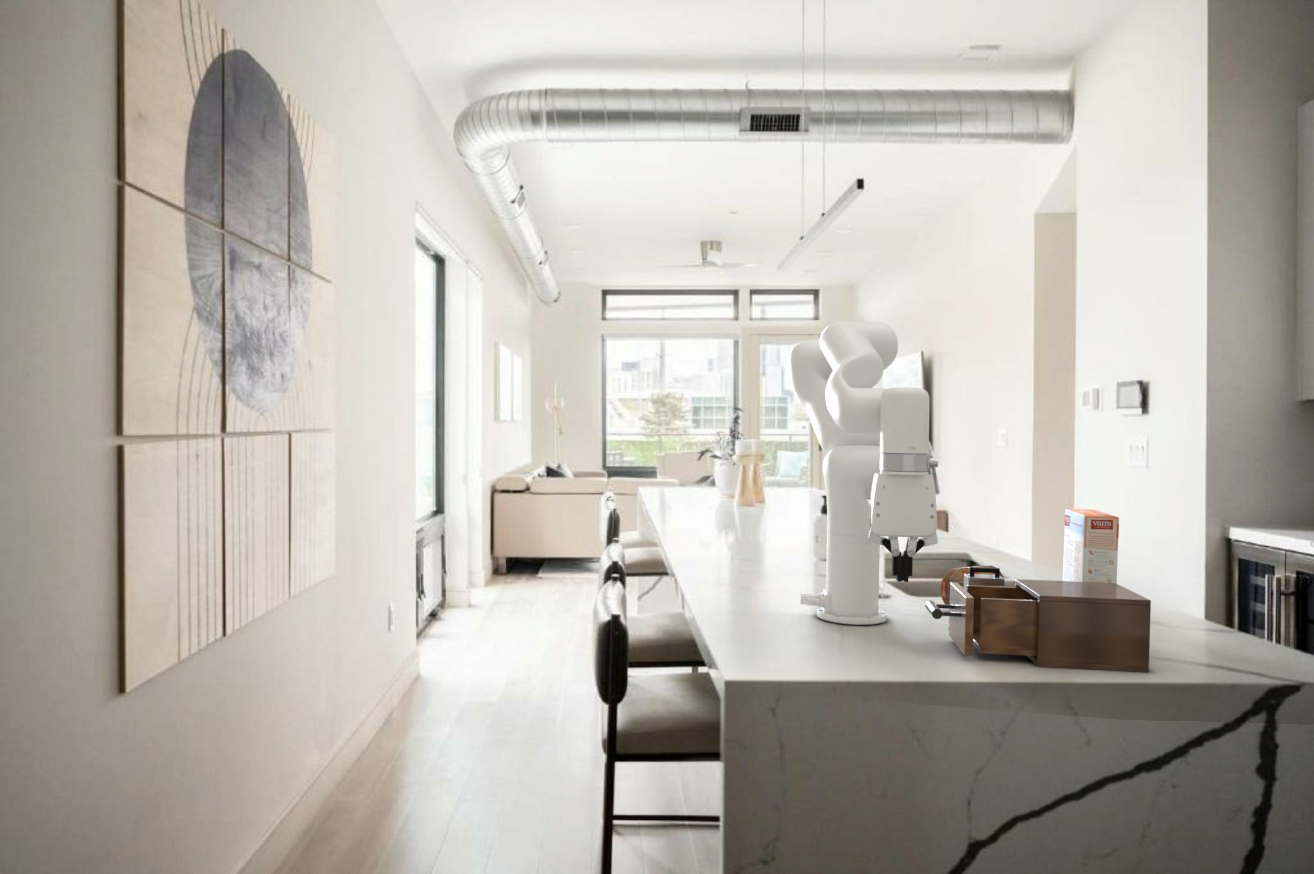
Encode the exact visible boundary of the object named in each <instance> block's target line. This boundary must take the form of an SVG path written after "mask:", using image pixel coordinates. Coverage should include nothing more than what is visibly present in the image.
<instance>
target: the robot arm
mask: <svg viewBox="0 0 1314 874" xmlns="http://www.w3.org/2000/svg"><path fill="white" fill-rule="evenodd" d="M898 350H899V340H898V336H897V333H896V331H895V330H894V329H893V327H891V325H889V324H888V323H884V322H881V321H860V320H859V321H857V320H840V321H836V322H832V323H830V324H829V325H827V326H826V327H825V328H824V329H823V331H822V332H821V333H820V337H819V338H811V339H806V340H802V341H798V343H796V344H795V345H793V347H792V348H791V349H790V351H789V354H788V358H787V373H788V378H789V382H790V386H791V388H792V390H793V392H794V395H795V397H796V398H797V400H798V401H799V402H800V404H801V406H802V407H803V408H804V409H805V411H806V413H807V415H808V416H809V419H810V422H811V425H812V428H813V430H814V432H815V436H816V438H817V440H818V443H819V445H820V447H821V450H822V451H823V452H824V453H825V454H826V456H825V457H824V460H823V464H822V474H823V475H822V476H823V481H824V488H825V496H826V513H827V514H826V517H827V518H826V562H825V563H826V564H825V565H826V567H825V569H826V570H825V588H824V589H823V590H822V592H817V594H811V593H800V605H807V606H809V607H810V606H811V607H815V606H816V607H818V608H817V609H816V616H817V617H818V618H819V619H820V620H823V621H826V622H831V623H836V624H843V625H855V626H856V625H857V626H859V625H860V626H866V625H868V626H869V625H877V624H878V625H879V624H882V623H885V622H886V621H887V620H888V613H887V612H886V611H884V610H882V609H879V601H880V600H879V598H880V597H879V595H880V557H881V556H880V554H881V546H883V547H884V548H885V549H886V550H887V551H888V552H889V553H890V554H891V576H894V577H895V580H896V582H897V583H902V582H904V583H909V577H913V564H914V563H913V559H914V556H915V555H916V554H917V553H918V552H919V551H920V550H922V548H924V547H928V546H933V545H937V544H938V542H939V539H938V536H937V529H938V514H937V513H938V512H937V496H936V487H935V482H934V476H933V474H930V473H929V472H930V470H931V469H933V468H938V467H939V459H938V458H933V457H932V456H930V403H931V402H930V395H929V392H928V391H927V390H926V389H924V388H920V387H907V386H906V387H889V388H883V387H881V388H879V387H875V386H876V385H877V384H878V383H879V382H880V381H881V379H882V377H883V374H884V371H885V370H886V369H887V368H888V367H890V366H891V365H892V364H893V362H894V361H895V359H896V358H897V355H898ZM868 499H870V500H869V501H868ZM869 502H870V503H869ZM899 538H907V539H906V543H905V548H904V550H903V554H902V552H901V551H900V544H899Z"/></svg>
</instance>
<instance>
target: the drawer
mask: <svg viewBox="0 0 1314 874" xmlns="http://www.w3.org/2000/svg"><path fill="white" fill-rule="evenodd" d="M924 607H925V609H926V610H927V611H928V612H929V614H930V615H931V616H932V618H933V619H935V620H939V619H941V618H942V617H948V636H949V637H950V639H951V640H952V642H954V644H955V645H956V646H957V648H958V649H959V651H961V653H962V654H963V656H965V657H966V656H968V657H973V656H974V655H973V654H974V653H973V652H974V647H975V648H976V650H977V651H978V652H979V653H980V654H985V655H987V654H989V655H1008V656H1026V657H1028V656H1037V622H1038V599H1036V598H1035V597H1034V596H1032V595H1031V594H1029V593H1028V592H1026V591H1025V590H1024V589H1022V588H1021V587H1015V586H1005V587H1001V586H977V585H967V590H965V589H964V588H963V587H961V586H960V585H959V584H958V583H952V582H950V605H947V604H945V603H935V602H934V600H927V601H926V602H925V605H924ZM943 609H945V610H949V611H942V610H943Z"/></svg>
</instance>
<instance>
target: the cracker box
mask: <svg viewBox="0 0 1314 874" xmlns="http://www.w3.org/2000/svg"><path fill="white" fill-rule="evenodd" d="M1063 529H1064V533H1063V536H1064V537H1063V564H1062V581H1074V582H1099V583H1116V584H1118V583H1117V582H1118V560H1119V559H1118V558H1119V557H1118V556H1119V555H1118V554H1119V536H1120V535H1119V534H1120V517H1119V516H1116V515H1114V514H1109V513H1107V512H1103V511H1100V510H1096V509H1087V508H1066V509H1065V510H1064V528H1063Z"/></svg>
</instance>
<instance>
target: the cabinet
mask: <svg viewBox="0 0 1314 874" xmlns="http://www.w3.org/2000/svg"><path fill="white" fill-rule="evenodd" d="M1014 587H1021V588H1022V589H1024V590H1025V591H1026V592H1028V593H1029V594H1031V595H1032V596H1034V597H1035V598H1036V599H1038V622H1037V656H1027V657H1028V659H1029V660H1030V661H1032V662H1033V663H1034V664H1035V665H1036V666H1037V667H1043V668H1063V669H1081V670H1100V671H1101V670H1102V671H1103V670H1104V671H1118V672H1119V671H1120V672H1136V673H1137V672H1139V673H1150V649H1151V648H1150V645H1151V643H1150V642H1151V641H1150V640H1151V639H1150V638H1151V610H1152V609H1151V607H1152V600H1151V599H1149V598H1147V597H1145V596H1143V595H1141V594H1139V593H1137V592H1135V591H1132V590H1130V589H1129V588H1127V587H1124V586H1122V585H1120V584H1118V583H1117V584H1116V583H1099V582H1074V581H1063V580H1051V579H1050V580H1049V579H1048V580H1047V579H1045V580H1044V579H1022V578H1015V580H1014Z"/></svg>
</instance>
